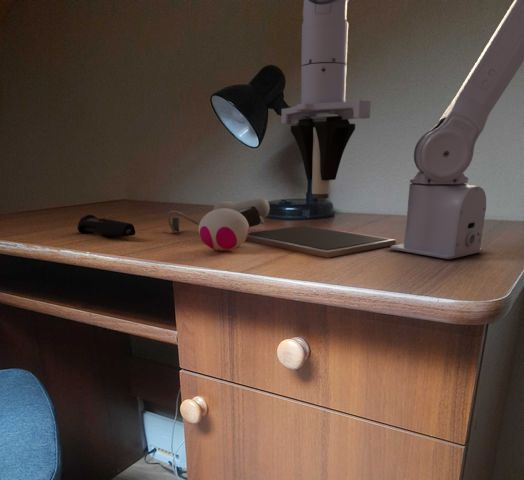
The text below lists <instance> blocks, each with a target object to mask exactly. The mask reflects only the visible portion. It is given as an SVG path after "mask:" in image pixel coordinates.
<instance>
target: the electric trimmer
mask: <svg viewBox="0 0 524 480" xmlns="http://www.w3.org/2000/svg"><path fill="white" fill-rule="evenodd" d="M77 231H78V233H80V234H85V233H95V234H100V235H101V236H102V237H106V238H125V237H130V236H135V235H136V229H135V226H134V224H133V223H130V222H125V221H119V220H115V219H108V218H98V217H97V216H95V215H93V214H87V215H85V216H82V217H81V218H80V220H79V222H78V224H77Z"/></svg>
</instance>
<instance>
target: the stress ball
mask: <svg viewBox="0 0 524 480" xmlns="http://www.w3.org/2000/svg"><path fill="white" fill-rule="evenodd" d="M197 222H199V223H200V224H199V225H198V228H197V229H198V231H197V232H198V237H199V239H200V240H201V241H202V242H203V244H204V245H205V246H207V247H208V248H210V249H212V250H215V251H212V252H210V254H213V253H216V252H219V251H222V252H226V251H232V250H234V249H237V248H239V247H240V246H242V245H243V244H244V243H245V241H247V240H246V239H247V237H248V234H249V233H250V227H249V224H248V222H247V220H246V218H245V217H244V216H243V215H242V214H241V213H239V212H237V211H235V210H232V209H227V208H221V209H216V210H214V209H213V210H211V211H209V212H207V213H206V214H204V216H203V217H202V218H201V220H198V219H197Z"/></svg>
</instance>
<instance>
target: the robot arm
mask: <svg viewBox="0 0 524 480" xmlns="http://www.w3.org/2000/svg"><path fill="white" fill-rule="evenodd" d="M348 2H349V0H303V6H302V7H303V8H302V19H303V21H302V24H301V57H300V58H301V59H300V61H301V63H300V64H301V65H300V66H301V69H300V71H301V73H300V74H301V75H300V76H301V77H300V78H301V79H300V89H301V90H300V103H299V104H298V103H297V104H296V105H295V106H292V107H286V108H281V124H282V125H291V126H290V132H291V134H292V135H293V138H294V140H295V142H296V144H297V146H298V149H299V152H300V155H301V158H302V163H303V168H304V172H305V176H306V180H311V181H312V166H313V127H315V129H316V133H317V137H318V142H319V149H320V173H321V179H322V180H330V181H336V179H337V175H338V171H339V167H340V165H341V164H340V163H341V160H342V158H343V155H344V152H345V150H346V147H347V145H348V143H349V141H350V139H351V137H352V135H353V133H354V132H355V130H356V123H350V121H349V120H357V119H359V120H360V119H362V120H365V119H370V118H371V108H372V100H363V99H362V100H361V99H359V100H349V101H348V100H347V101H346V95H347V93H346V91H347V90H346V89H347V69H348V68H347V67H348V66H347V65H348V64H347V63H348V45H349V43H348V42H349V41H348V40H349V22H348V20H347V18H348V17H347V15H348ZM523 63H524V0H513V2H512V3H511V5H510V6H509V8H508V10H507V11H506V13H505V14H504V16H503V17H502V19H501V21H500V22H499V24H498V26H497V28H496V29H495V31H494V33H493V35H491V37H490V39H489V41H488V42H487V44H486V46H485V47H484V49H483V51H482V52H481V54H480V55H479V57H478V59H477V61H476V62H475V64H474V66H473V67H472V68H471V70H470V72H469V73H468V75H467V77H466V78H465V79H464V81H463V83H462V85H461V87H460V88H459V90H458V91H457V93H456V95H455V96H454V98H453V100H451V103H450V104H449V105H448V106H447V108H446V109H445V111H444V112H443V114H442V115H441V117H440V118H439V120H438V122H437V123H436V124H435V125H434V126H433V127H432V128H431V129H430V130H428V131H427V132H425V133H424V134H423V135H422V136H421V137H420V138H419V139H418V141H417V142H416V145H415V147H414V151H413V162H414V164H415V167H416V169H417V170H418V172H417V173H416V175H415V176H413V177H412V178H409V189H408V197H407V198H408V199H407V211H406V219H405V220H406V221H405V232H404V242H403V243H398V244H395V245H393V246H389V247H390V248H389V249H390V250H393V251H399V252H404V253H411V254H415V255H421V256H426V257H433V258H438V259H443V260H453V259H457V258H461V257H466V256H470V255H474V254H478V253H481V252H483V250H484V249H483V248H482V247H481V245H482V237H483V232H484V231H483V230H484V223H485V217H486V211H487V195H486V192H485V190H484V189H483V188H482V187H481V186H479V185H471V184H468V183H469V177H468V176H466V175H465V174H464V173H465V171H467V170H468V168H469V166H470V165H471V163H472V161H473V157H474V152H475V151H474V150H475V145H476V142H477V141H478V138H479V137H480V136H481V134H482V133H483V132H484V128H485V126H486V123H487V120H488V119H489V115H490V113H491V112H492V110H493V109H494V108H495V106H496V104H497V103H498V101H499V100H500V98H501V97H502V95H503V94H504V92H505V91H506V89H507V88H508V86H509V85H510V83H511V82H512V80H513V79H514V77H515V75H516V74H517V73H518V71H519V69H520V68H521V66H522V65H523ZM320 114H321V115H324V114H329V115H328V116H317V115H320Z"/></svg>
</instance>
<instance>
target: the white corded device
mask: <svg viewBox="0 0 524 480" xmlns="http://www.w3.org/2000/svg"><path fill="white" fill-rule="evenodd" d="M221 208H227V209H232V210H235V211H237V212H239V213H241V214H242V215H243V216H244V217H245V218H246V220H247V222H248V224H249V228H251V227H255V226H259V225H264V224H265V221H264V218H267V217H268V215H269V213H270V211H271V210H270V209H271V207H270V203H269V202H268V200H267V199H266V198H264V197H263V196H262V197H256V198H253V199H248V200H243V201H240V202H239V201H238V202H235V203H233V202H232V201H228V200H222V201H218V202H216V203H215V204H214V206H213V210H216V209H221ZM172 214H176V215H179V216H180V217H182V218H184V219H186V220H187V221H189V222H191V223H193V224H195V225H197V226H199V224H200V222H199V221H198V220H195V219H193V218H191V217H190V216H188V215H186V214H184V213H182V212H180V211H177V210H170V211H169V212H168V213H167V221H168V223H169V227H170V229H171V231H172V233H173V234H177V233H179V232H180V218H179V216H175V217H173V218H172V220H171V215H172Z"/></svg>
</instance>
